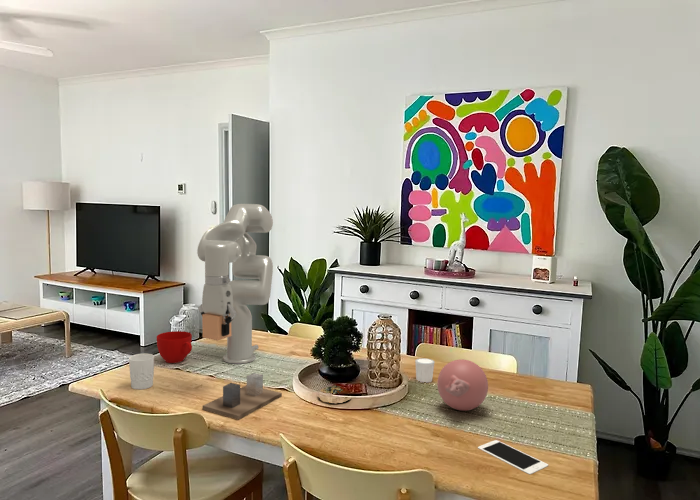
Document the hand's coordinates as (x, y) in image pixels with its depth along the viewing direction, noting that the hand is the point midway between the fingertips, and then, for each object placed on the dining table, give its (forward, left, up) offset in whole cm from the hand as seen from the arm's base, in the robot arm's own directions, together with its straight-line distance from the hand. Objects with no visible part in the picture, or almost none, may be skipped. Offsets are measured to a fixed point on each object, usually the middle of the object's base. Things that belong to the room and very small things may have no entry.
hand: (217, 333), depth 173 cm
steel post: (0, +16, -19) cm, 25 cm away
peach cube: (0, 0, -1) cm, 1 cm away
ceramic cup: (-13, -32, -19) cm, 39 cm away
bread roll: (-12, +38, -19) cm, 45 cm away
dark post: (+11, +16, -19) cm, 27 cm away
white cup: (+12, -22, -19) cm, 31 cm away
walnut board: (+6, +16, -19) cm, 25 cm away
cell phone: (-3, +96, -19) cm, 98 cm away
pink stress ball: (-24, +76, -19) cm, 82 cm away
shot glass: (-45, +57, -19) cm, 75 cm away
